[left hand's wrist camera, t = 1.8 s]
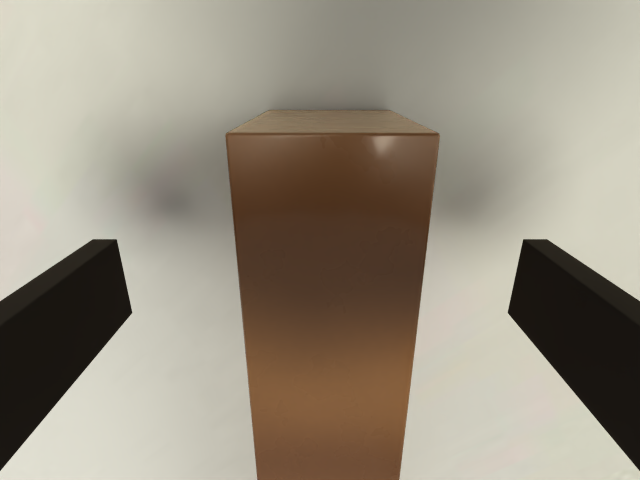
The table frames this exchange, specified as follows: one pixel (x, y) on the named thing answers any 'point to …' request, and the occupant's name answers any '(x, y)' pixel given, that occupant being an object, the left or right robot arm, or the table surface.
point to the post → (330, 284)
